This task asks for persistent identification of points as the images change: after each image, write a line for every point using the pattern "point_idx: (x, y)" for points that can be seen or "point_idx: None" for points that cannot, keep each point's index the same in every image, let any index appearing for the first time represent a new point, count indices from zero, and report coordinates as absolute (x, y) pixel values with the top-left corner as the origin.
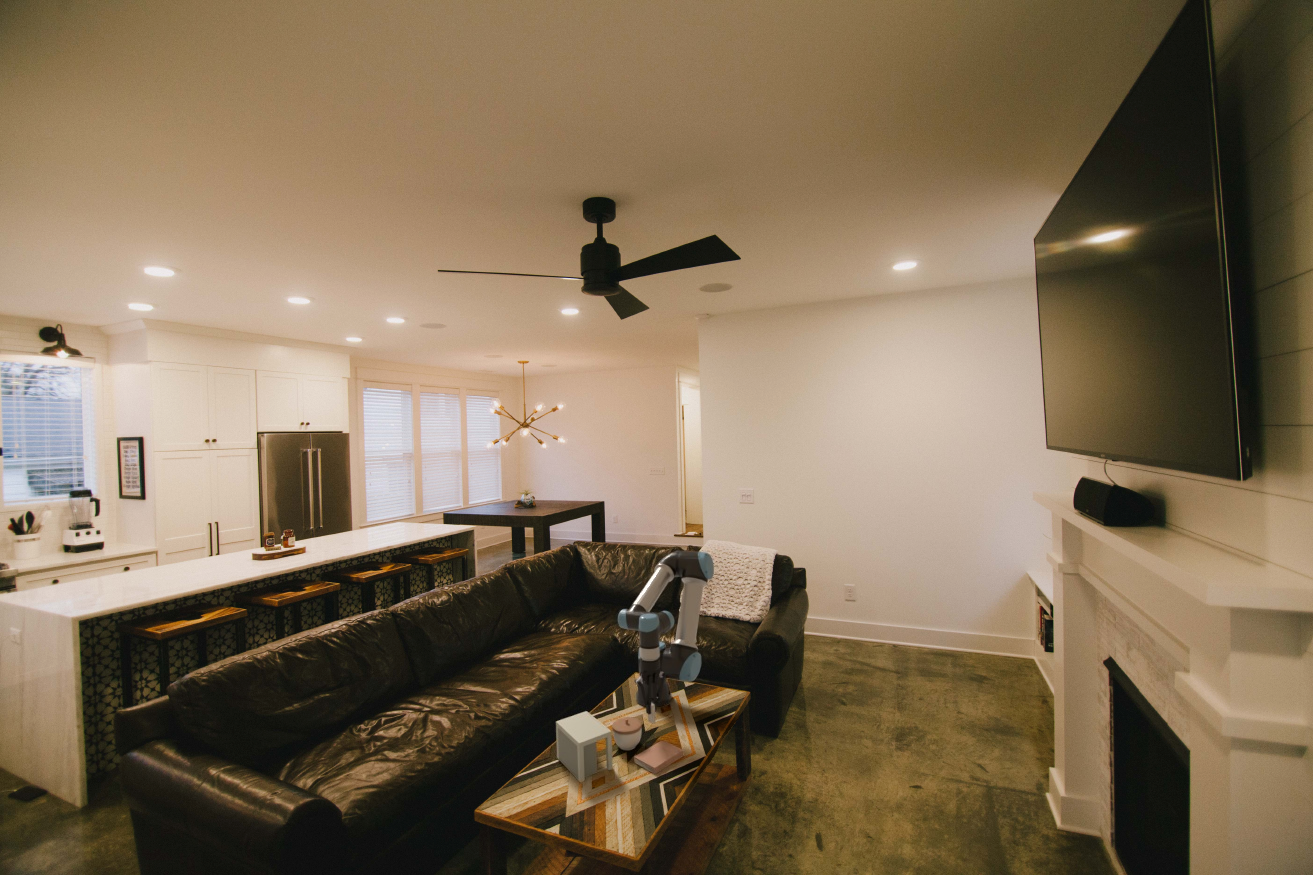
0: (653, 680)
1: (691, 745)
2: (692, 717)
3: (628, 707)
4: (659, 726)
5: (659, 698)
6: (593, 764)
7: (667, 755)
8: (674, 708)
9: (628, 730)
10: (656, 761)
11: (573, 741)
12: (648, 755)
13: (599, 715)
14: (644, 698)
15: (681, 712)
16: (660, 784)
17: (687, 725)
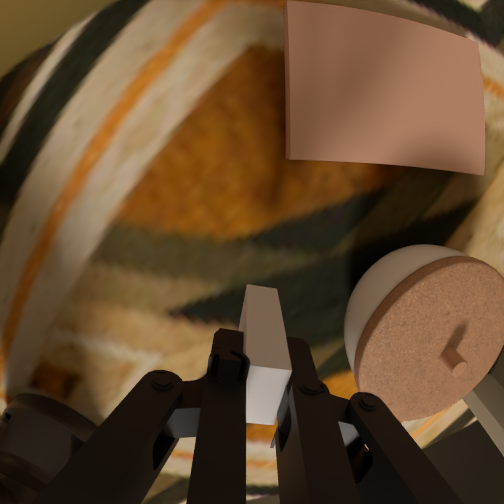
0: None
1: (178, 42)
2: (3, 245)
3: (168, 473)
4: (159, 310)
5: (166, 386)
6: None
7: (385, 37)
8: (26, 354)
9: (498, 285)
10: (449, 58)
11: None
12: (444, 121)
13: None
14: (406, 448)
15: (17, 312)
16: (478, 5)
17: (52, 208)
